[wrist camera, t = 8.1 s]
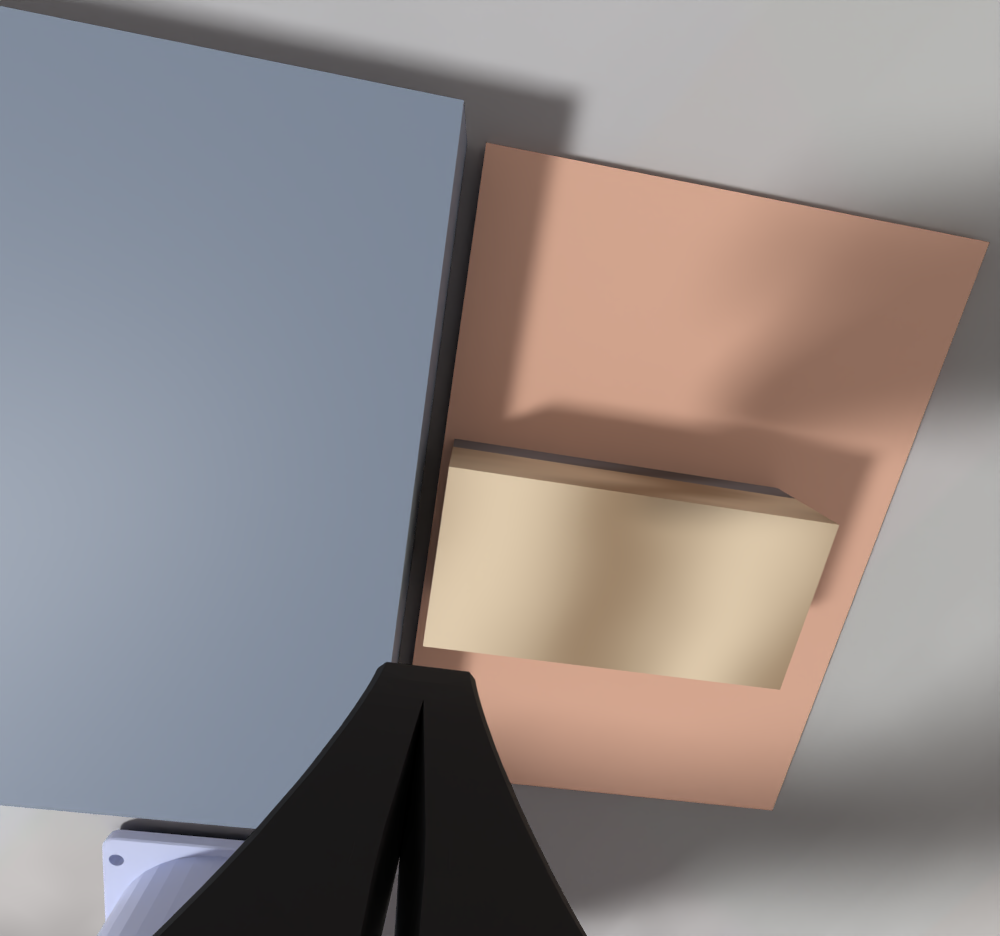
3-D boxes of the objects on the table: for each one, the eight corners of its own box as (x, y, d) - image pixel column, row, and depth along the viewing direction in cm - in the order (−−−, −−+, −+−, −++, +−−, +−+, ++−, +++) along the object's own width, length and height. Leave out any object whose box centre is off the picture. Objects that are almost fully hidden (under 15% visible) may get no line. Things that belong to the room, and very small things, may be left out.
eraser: (777, 488, 17) (839, 524, 14) (732, 629, 18) (779, 689, 15) (454, 438, 16) (449, 466, 13) (432, 590, 17) (422, 646, 14)
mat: (767, 800, 21) (772, 810, 20) (398, 762, 20) (397, 771, 19) (977, 244, 15) (989, 242, 15) (485, 146, 14) (486, 142, 14)
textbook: (384, 761, 19) (368, 839, 17) (-62, 714, 18) (-163, 789, 15) (466, 143, 14) (463, 100, 11) (-156, 20, 13) (-338, -63, 10)
